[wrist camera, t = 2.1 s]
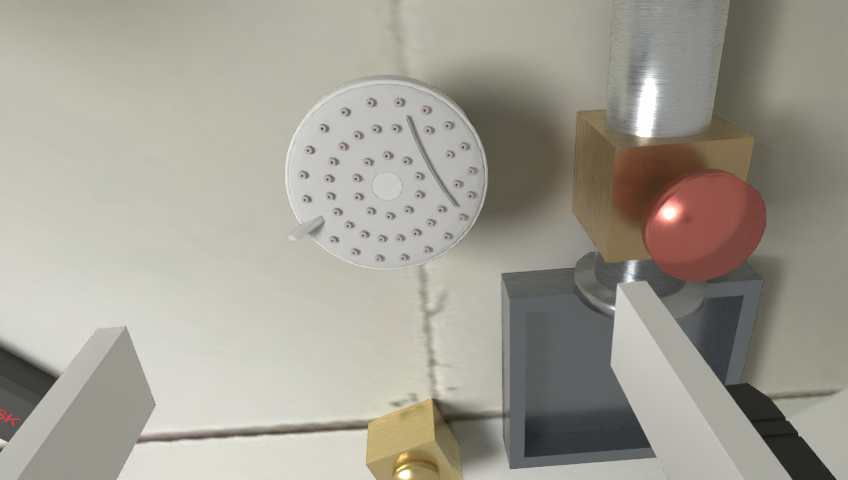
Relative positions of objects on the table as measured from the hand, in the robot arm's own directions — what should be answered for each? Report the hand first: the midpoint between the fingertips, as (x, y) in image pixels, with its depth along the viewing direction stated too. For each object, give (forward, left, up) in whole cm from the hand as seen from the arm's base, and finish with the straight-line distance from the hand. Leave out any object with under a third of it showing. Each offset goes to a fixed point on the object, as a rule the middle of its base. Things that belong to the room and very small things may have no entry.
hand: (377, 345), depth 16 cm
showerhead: (0, 0, -19) cm, 19 cm away
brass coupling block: (0, -22, -19) cm, 29 cm away
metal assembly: (+14, -7, -19) cm, 25 cm away
